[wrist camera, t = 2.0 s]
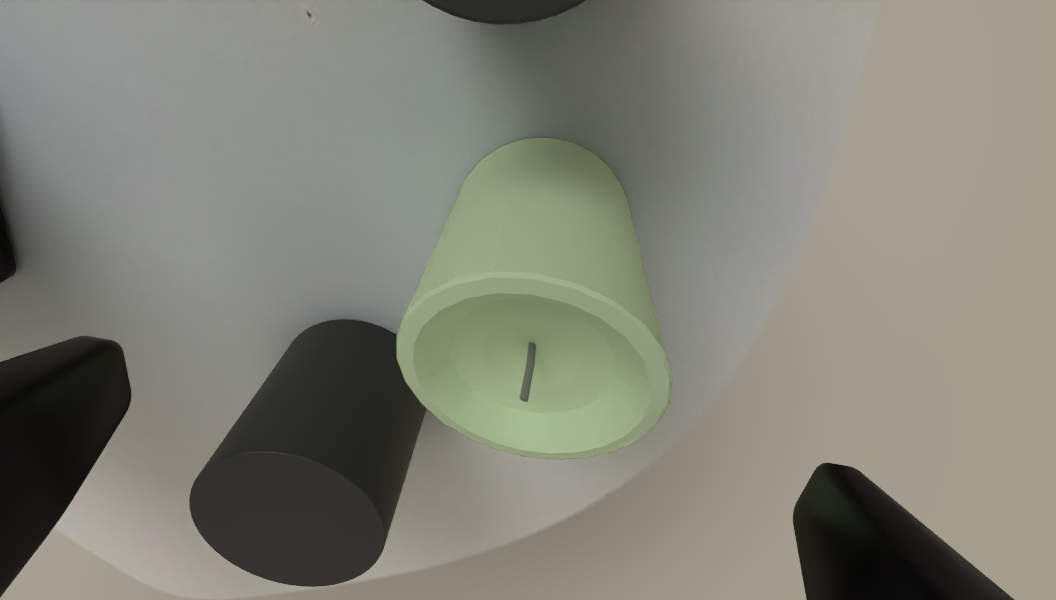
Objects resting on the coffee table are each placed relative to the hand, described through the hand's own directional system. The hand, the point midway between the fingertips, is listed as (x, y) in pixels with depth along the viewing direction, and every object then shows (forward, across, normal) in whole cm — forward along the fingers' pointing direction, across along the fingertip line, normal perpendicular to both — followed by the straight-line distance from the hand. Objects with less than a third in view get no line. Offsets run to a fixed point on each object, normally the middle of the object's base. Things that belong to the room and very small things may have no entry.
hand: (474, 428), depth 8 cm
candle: (+10, -1, +1) cm, 11 cm away
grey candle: (+10, +4, +8) cm, 14 cm away
